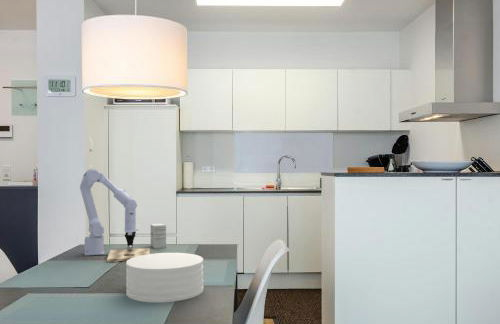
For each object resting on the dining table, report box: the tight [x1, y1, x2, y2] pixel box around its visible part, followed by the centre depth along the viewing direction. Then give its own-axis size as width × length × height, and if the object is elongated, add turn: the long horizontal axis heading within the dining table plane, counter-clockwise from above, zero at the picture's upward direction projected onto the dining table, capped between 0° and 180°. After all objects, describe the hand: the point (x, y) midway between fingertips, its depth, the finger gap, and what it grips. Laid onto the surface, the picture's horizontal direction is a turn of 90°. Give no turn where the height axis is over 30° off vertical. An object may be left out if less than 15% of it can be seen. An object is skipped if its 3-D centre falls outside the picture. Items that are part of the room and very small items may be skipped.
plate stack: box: [125, 252, 204, 303], centre depth 167 cm, size 28×28×12 cm
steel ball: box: [126, 245, 134, 251], centre depth 235 cm, size 3×3×3 cm
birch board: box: [106, 247, 151, 263], centre depth 229 cm, size 20×24×2 cm
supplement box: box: [150, 223, 167, 249], centre depth 255 cm, size 7×7×13 cm
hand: (130, 246), depth 244 cm, fingers open, 7 cm apart
